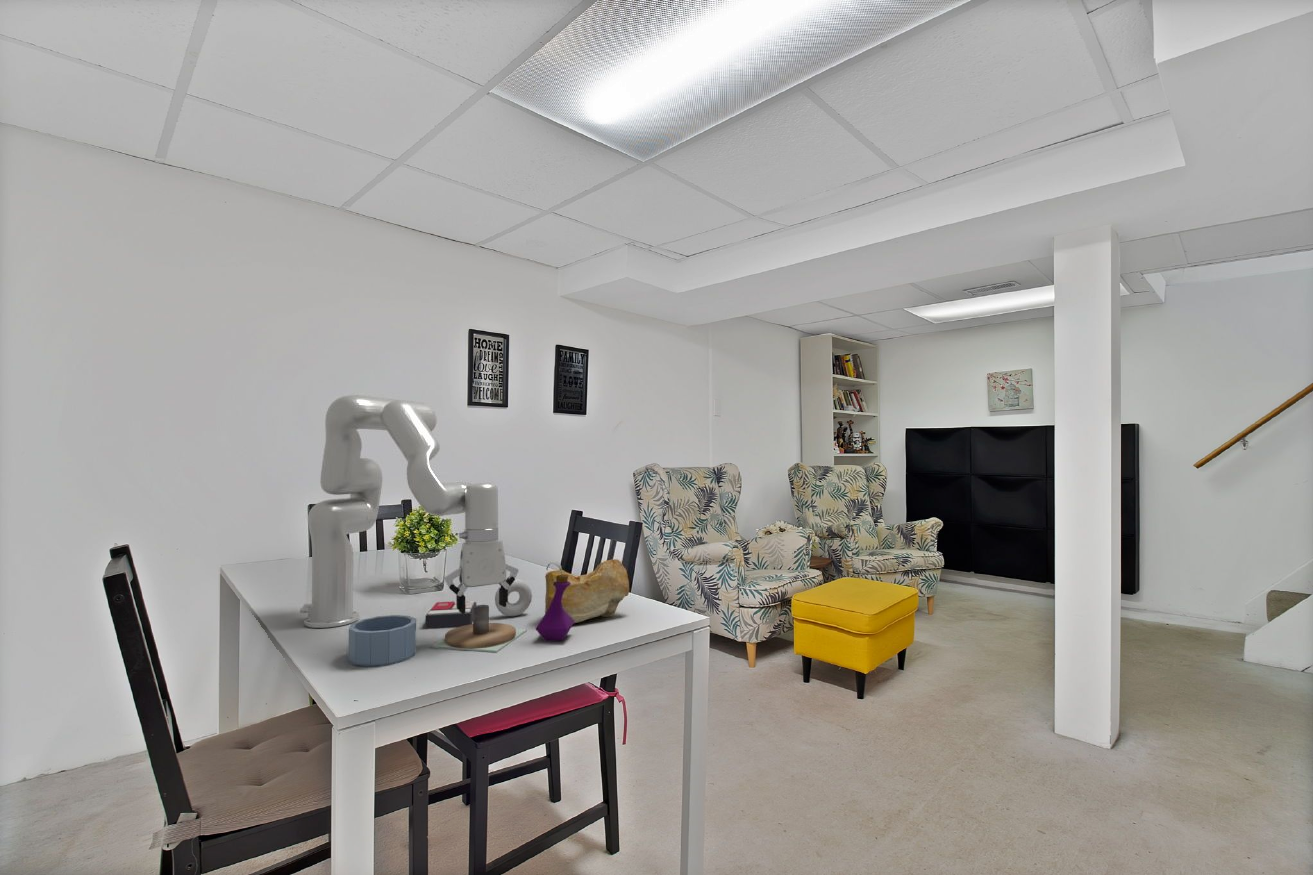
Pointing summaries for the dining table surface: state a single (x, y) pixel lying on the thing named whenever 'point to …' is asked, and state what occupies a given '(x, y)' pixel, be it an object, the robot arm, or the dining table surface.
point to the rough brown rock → (591, 591)
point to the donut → (521, 604)
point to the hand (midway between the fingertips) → (482, 608)
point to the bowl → (382, 640)
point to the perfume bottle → (556, 612)
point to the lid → (480, 632)
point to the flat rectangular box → (449, 615)
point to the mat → (497, 648)
